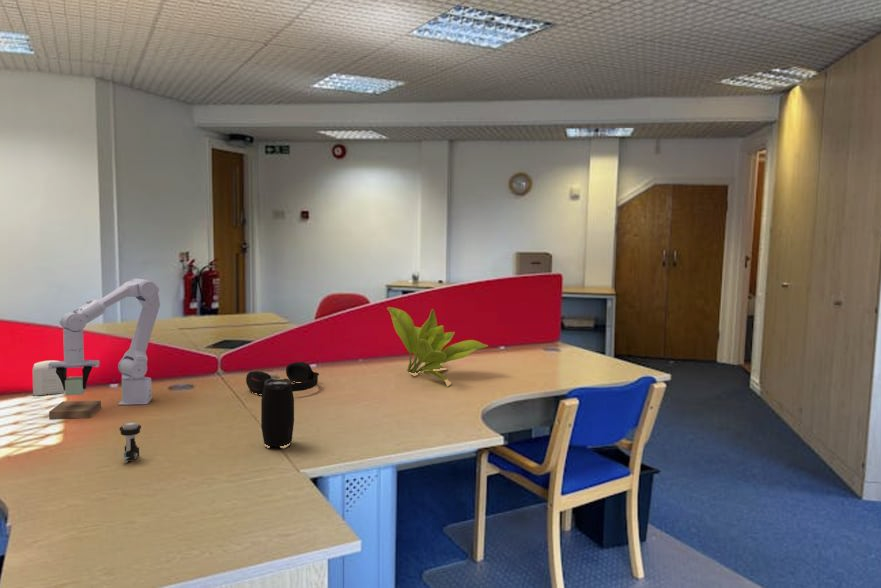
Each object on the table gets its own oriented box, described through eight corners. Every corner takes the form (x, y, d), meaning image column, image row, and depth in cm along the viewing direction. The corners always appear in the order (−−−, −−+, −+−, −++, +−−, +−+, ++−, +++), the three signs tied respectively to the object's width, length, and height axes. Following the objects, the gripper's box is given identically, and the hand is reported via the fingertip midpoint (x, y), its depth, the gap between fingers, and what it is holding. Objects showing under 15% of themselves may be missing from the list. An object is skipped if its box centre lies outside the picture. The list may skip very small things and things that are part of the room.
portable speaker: (256, 444, 193) (256, 380, 191) (285, 438, 199) (286, 375, 197) (269, 452, 186) (269, 386, 184) (298, 446, 192) (299, 381, 190)
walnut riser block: (101, 409, 224) (100, 400, 224) (89, 419, 212) (89, 410, 212) (63, 410, 222) (62, 401, 221) (49, 420, 210) (48, 411, 210)
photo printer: (65, 390, 243) (64, 358, 242) (66, 393, 240) (65, 360, 238) (33, 394, 238) (31, 360, 236) (33, 396, 234) (31, 363, 233)
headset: (267, 378, 272) (267, 357, 271) (328, 382, 268) (328, 361, 267) (237, 396, 244) (237, 373, 243) (304, 400, 240) (304, 377, 239)
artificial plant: (420, 408, 256) (465, 350, 251) (351, 338, 273) (392, 282, 267) (461, 403, 294) (502, 352, 289) (398, 341, 311) (436, 292, 305)
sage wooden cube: (85, 390, 219) (84, 376, 219) (82, 394, 215) (82, 379, 214) (68, 391, 218) (67, 377, 217) (65, 395, 213) (64, 380, 213)
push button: (134, 464, 175) (133, 428, 174) (114, 464, 175) (113, 428, 173) (145, 455, 181) (144, 421, 180) (125, 455, 181) (124, 420, 180)
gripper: (100, 345, 221) (101, 384, 222) (51, 347, 216) (52, 387, 217) (97, 349, 214) (98, 389, 216) (46, 351, 209) (48, 392, 211)
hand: (75, 388), depth 216 cm, fingers closed on sage wooden cube, 5 cm apart
